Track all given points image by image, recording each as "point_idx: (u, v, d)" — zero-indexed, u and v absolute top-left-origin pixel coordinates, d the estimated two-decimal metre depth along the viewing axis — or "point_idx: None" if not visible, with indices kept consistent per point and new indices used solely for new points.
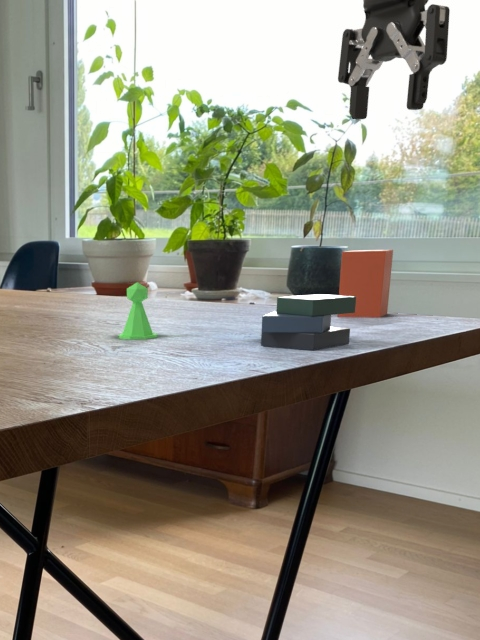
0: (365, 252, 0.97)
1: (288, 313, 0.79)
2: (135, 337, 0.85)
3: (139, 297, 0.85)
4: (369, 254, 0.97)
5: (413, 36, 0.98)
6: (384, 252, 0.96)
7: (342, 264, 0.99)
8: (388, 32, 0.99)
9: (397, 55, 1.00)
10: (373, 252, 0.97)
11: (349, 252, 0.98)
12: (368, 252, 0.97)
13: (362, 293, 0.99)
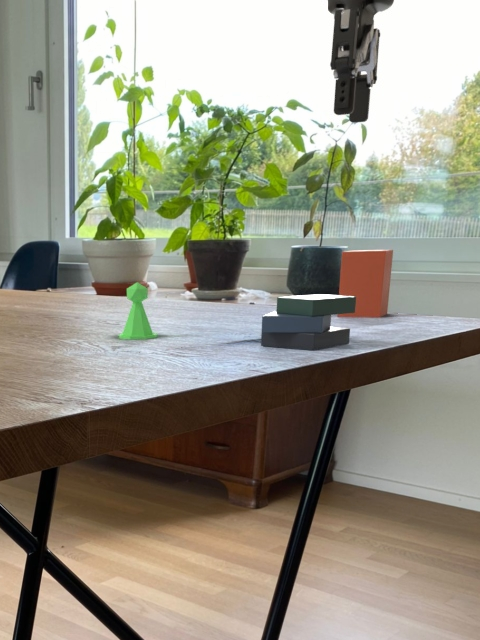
0: (365, 252, 0.97)
1: (288, 313, 0.79)
2: (135, 337, 0.85)
3: (139, 297, 0.85)
4: (369, 254, 0.97)
5: None
6: (384, 252, 0.96)
7: (342, 264, 0.99)
8: None
9: None
10: (373, 252, 0.97)
11: (349, 252, 0.98)
12: (368, 252, 0.97)
13: (362, 293, 0.99)
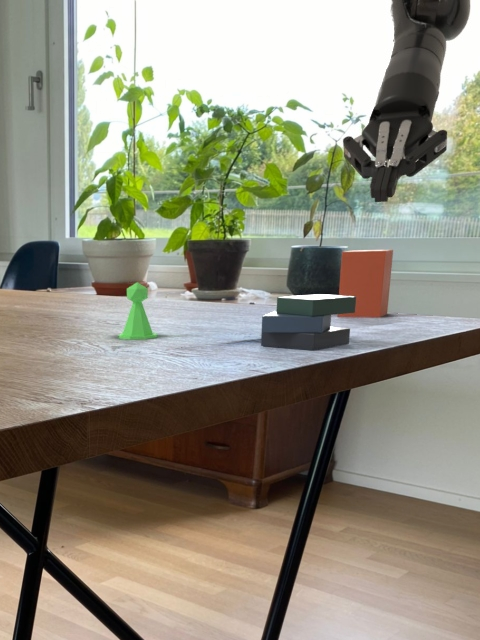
0: (365, 252, 0.97)
1: (288, 313, 0.79)
2: (135, 337, 0.85)
3: (139, 297, 0.85)
4: (369, 254, 0.97)
5: None
6: (384, 252, 0.96)
7: (342, 264, 0.99)
8: None
9: None
10: (373, 252, 0.97)
11: (349, 252, 0.98)
12: (368, 252, 0.97)
13: (362, 293, 0.99)
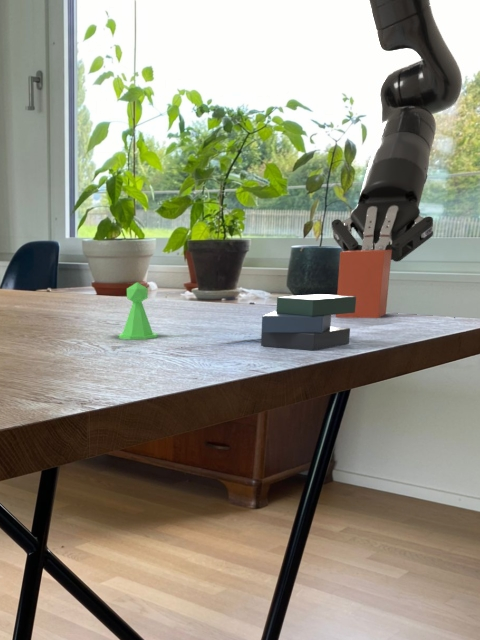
0: (363, 252, 0.97)
1: (288, 313, 0.79)
2: (135, 337, 0.85)
3: (139, 297, 0.85)
4: (367, 254, 0.97)
5: None
6: (383, 252, 0.96)
7: (340, 264, 0.98)
8: None
9: None
10: (371, 252, 0.96)
11: (347, 252, 0.98)
12: (366, 252, 0.97)
13: (361, 293, 0.98)
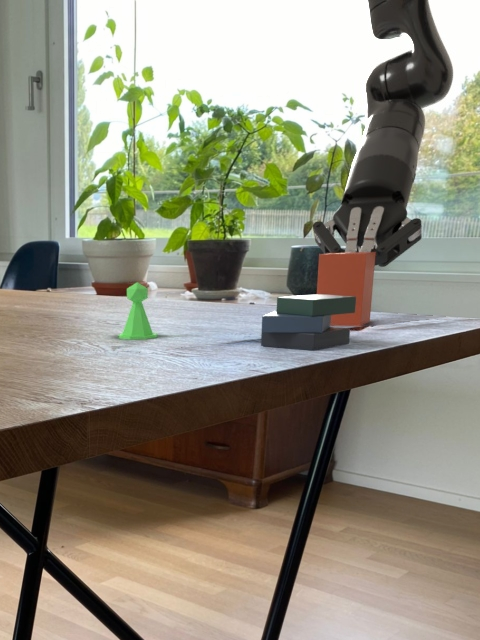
0: (344, 255, 0.89)
1: (288, 313, 0.79)
2: (135, 337, 0.85)
3: (139, 297, 0.85)
4: (348, 257, 0.89)
5: None
6: (364, 255, 0.88)
7: (319, 268, 0.91)
8: None
9: None
10: (353, 255, 0.89)
11: (327, 255, 0.90)
12: (347, 255, 0.89)
13: None
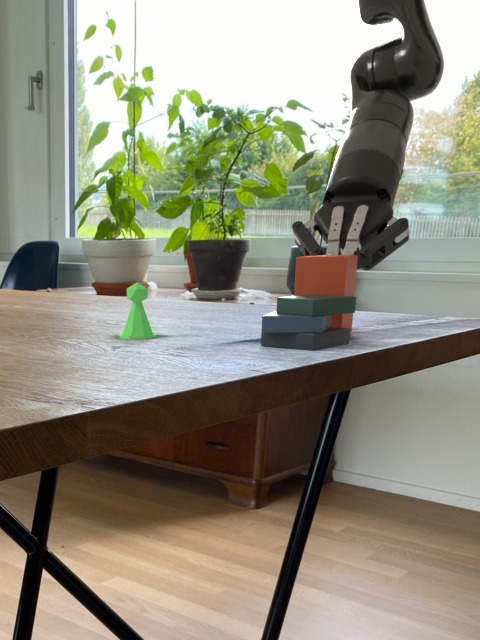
0: (323, 258, 0.82)
1: (288, 313, 0.79)
2: (135, 337, 0.85)
3: (139, 297, 0.85)
4: (328, 260, 0.82)
5: None
6: (345, 258, 0.81)
7: (296, 272, 0.83)
8: None
9: None
10: (332, 258, 0.81)
11: (304, 258, 0.83)
12: (326, 258, 0.82)
13: None
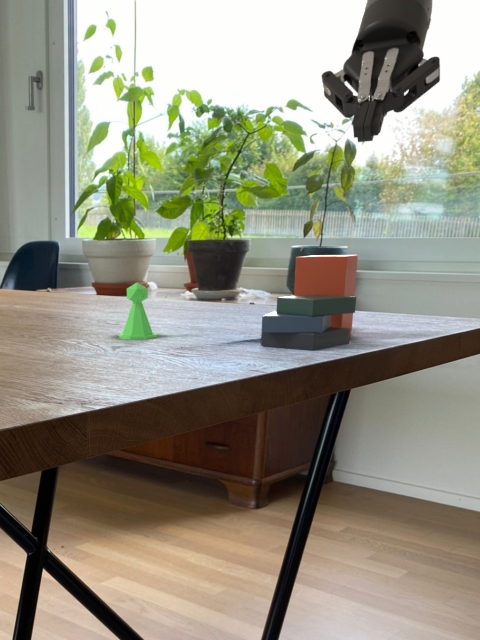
0: (323, 258, 0.82)
1: (288, 313, 0.79)
2: (135, 337, 0.85)
3: (139, 297, 0.85)
4: (327, 260, 0.82)
5: None
6: (345, 258, 0.81)
7: (296, 272, 0.83)
8: None
9: None
10: (332, 258, 0.81)
11: (304, 258, 0.83)
12: (326, 258, 0.82)
13: None
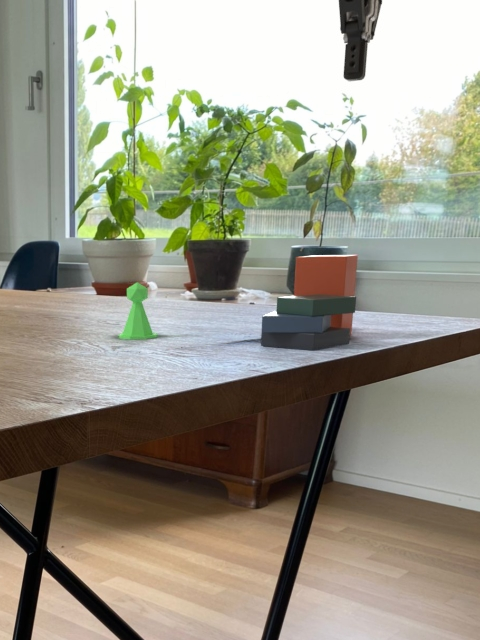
0: (323, 258, 0.82)
1: (288, 313, 0.79)
2: (135, 337, 0.85)
3: (139, 297, 0.85)
4: (327, 260, 0.82)
5: None
6: (345, 258, 0.81)
7: (296, 272, 0.83)
8: None
9: None
10: (332, 258, 0.81)
11: (304, 258, 0.83)
12: (326, 258, 0.82)
13: None
